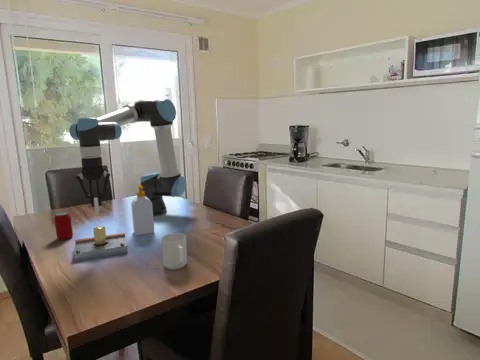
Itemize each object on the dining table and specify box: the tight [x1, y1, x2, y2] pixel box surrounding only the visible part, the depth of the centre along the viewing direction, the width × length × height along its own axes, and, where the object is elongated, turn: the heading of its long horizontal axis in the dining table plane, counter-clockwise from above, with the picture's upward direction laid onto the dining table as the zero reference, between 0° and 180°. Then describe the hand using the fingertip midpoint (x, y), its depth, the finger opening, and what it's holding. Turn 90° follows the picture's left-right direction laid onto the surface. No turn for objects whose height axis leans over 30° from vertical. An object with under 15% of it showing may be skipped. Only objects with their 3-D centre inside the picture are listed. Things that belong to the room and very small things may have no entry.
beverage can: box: [53, 211, 74, 241], centre depth 155 cm, size 7×7×12 cm
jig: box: [72, 232, 129, 262], centre depth 139 cm, size 20×14×4 cm
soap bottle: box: [130, 184, 155, 236], centre depth 159 cm, size 9×7×23 cm
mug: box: [160, 232, 188, 271], centre depth 122 cm, size 12×9×11 cm
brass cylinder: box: [92, 225, 107, 247], centre depth 139 cm, size 4×4×10 cm
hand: (97, 213), depth 137 cm, fingers closed
